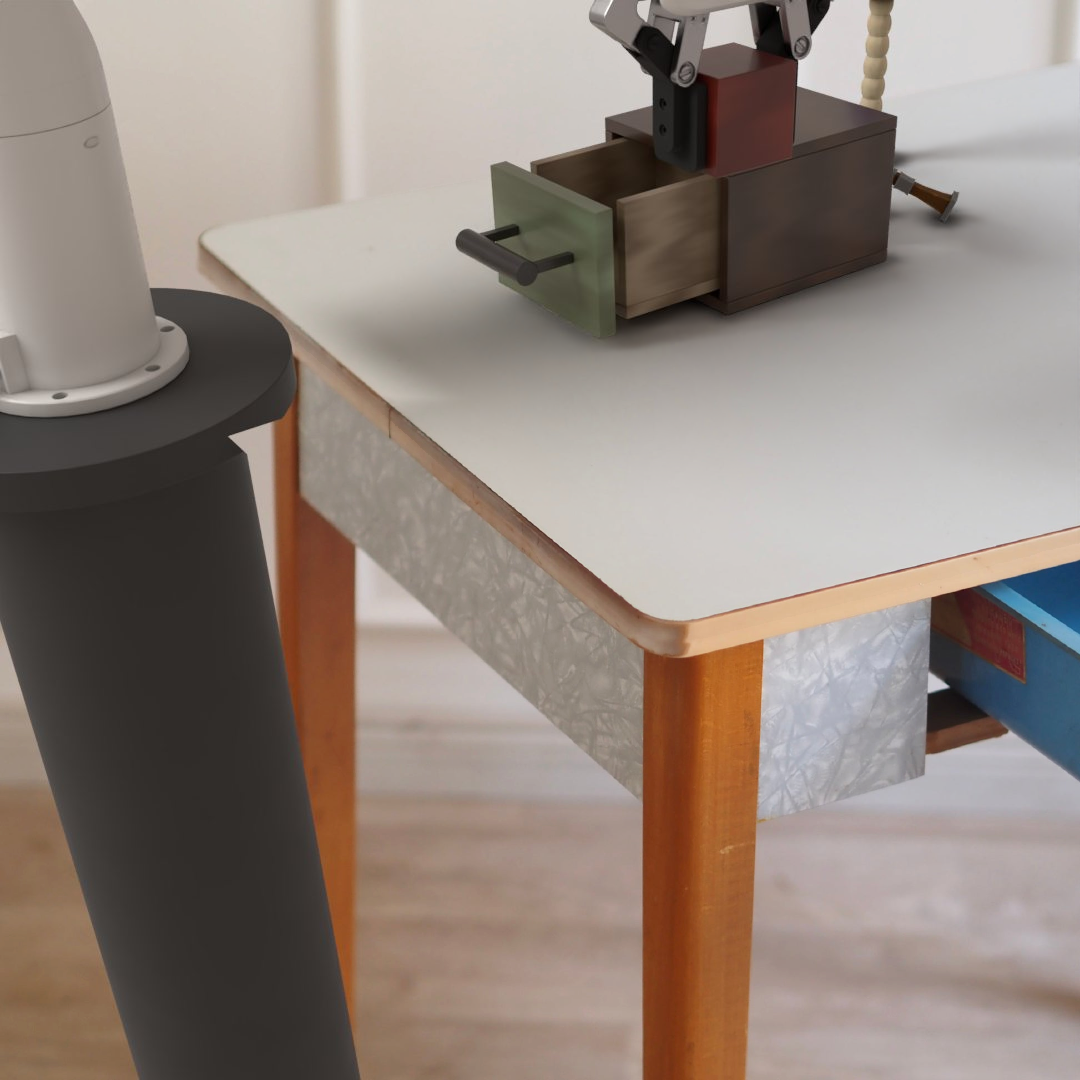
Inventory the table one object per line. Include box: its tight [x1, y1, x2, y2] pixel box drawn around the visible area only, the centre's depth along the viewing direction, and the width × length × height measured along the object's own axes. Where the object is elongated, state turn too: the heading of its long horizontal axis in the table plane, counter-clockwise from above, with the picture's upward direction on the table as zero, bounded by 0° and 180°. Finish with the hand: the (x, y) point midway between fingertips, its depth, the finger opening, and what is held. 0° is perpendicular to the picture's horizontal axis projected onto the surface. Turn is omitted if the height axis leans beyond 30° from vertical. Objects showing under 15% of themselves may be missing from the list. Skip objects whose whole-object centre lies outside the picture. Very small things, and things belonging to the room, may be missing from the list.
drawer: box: [455, 137, 721, 340], centre depth 93 cm, size 17×11×8 cm
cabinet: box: [604, 85, 898, 315], centre depth 98 cm, size 14×13×10 cm
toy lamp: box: [858, 0, 895, 112], centre depth 111 cm, size 5×5×17 cm
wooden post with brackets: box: [892, 166, 960, 223], centre depth 105 cm, size 2×8×4 cm, turn 72°
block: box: [696, 41, 797, 178], centre depth 70 cm, size 4×4×4 cm
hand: (724, 148), depth 71 cm, fingers closed on block, 4 cm apart
